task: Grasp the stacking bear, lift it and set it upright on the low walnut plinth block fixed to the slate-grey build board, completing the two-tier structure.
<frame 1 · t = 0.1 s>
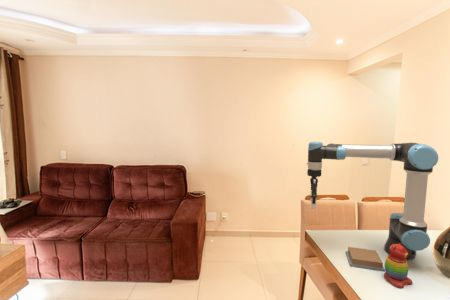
hand: (313, 205, 142), 28 cm above the table, fingers open, 13 cm apart
build board: (364, 261, 134), on the table
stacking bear: (395, 280, 118), on the table
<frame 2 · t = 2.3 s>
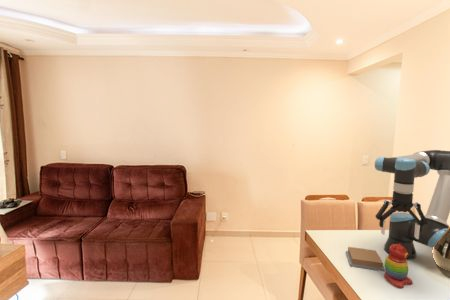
hand: (399, 235, 116), 22 cm above the table, fingers open, 13 cm apart
nothing on the table moved.
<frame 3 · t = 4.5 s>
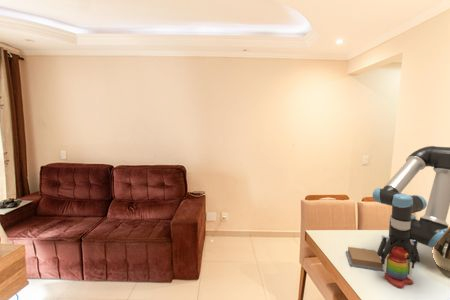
hand: (396, 272, 118), 4 cm above the table, fingers closed on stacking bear, 9 cm apart
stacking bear: (396, 280, 118), on the table, touching gripper
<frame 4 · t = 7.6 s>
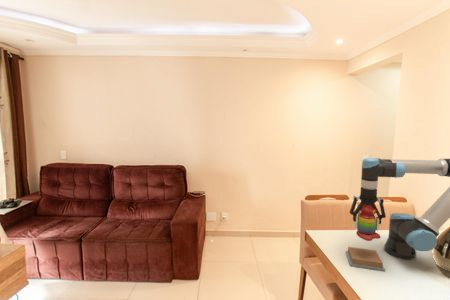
hand: (366, 228, 132), 19 cm above the table, fingers closed on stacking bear, 9 cm apart
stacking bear: (366, 236, 132), point 15 cm above the table, touching gripper
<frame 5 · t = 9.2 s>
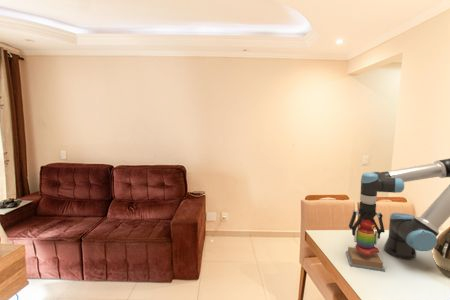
hand: (365, 242, 133), 11 cm above the table, fingers closed on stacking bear, 9 cm apart
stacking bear: (365, 250, 133), point 7 cm above the table, touching gripper
when the fingers open (10 cm above the table, at t = 10.3 s): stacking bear drops 2 cm, resting on build board.
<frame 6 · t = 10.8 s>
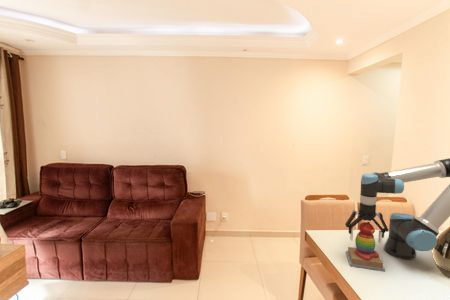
hand: (365, 241, 133), 12 cm above the table, fingers open, 13 cm apart
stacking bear: (365, 254, 133), point 4 cm above the table, touching build board
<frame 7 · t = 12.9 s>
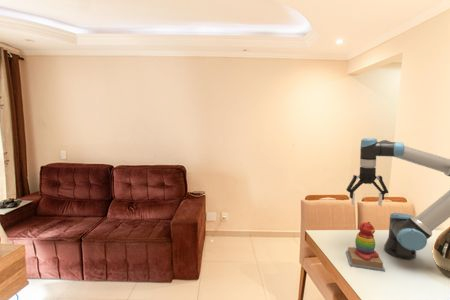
hand: (366, 204, 136), 30 cm above the table, fingers open, 13 cm apart
nothing on the table moved.
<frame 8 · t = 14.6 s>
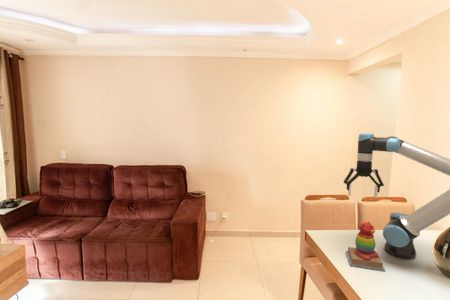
hand: (362, 196, 143), 33 cm above the table, fingers open, 13 cm apart
nothing on the table moved.
at the end: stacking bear inside the target area on the build board (0.3 cm from its centre), point 4.0 cm above the build board's base; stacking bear tilted 0° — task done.
